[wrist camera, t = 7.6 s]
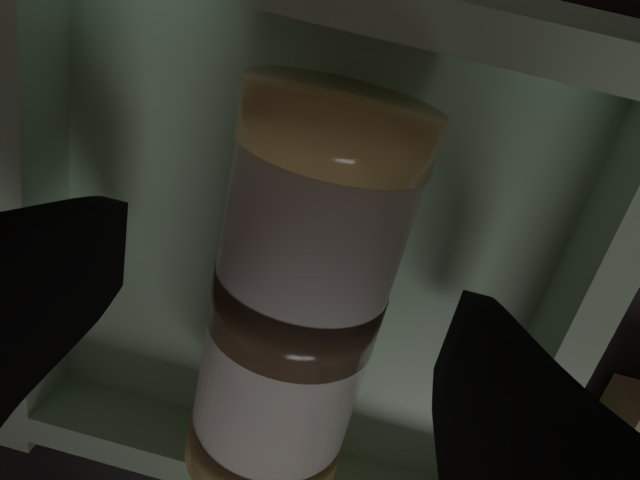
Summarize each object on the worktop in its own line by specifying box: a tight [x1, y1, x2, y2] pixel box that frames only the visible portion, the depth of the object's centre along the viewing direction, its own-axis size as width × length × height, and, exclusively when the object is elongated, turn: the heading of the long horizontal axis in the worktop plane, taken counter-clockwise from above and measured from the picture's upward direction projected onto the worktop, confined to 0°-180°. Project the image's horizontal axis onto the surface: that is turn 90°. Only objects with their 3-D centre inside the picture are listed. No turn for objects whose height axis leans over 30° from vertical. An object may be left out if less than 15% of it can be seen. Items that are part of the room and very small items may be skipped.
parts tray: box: [0, 0, 640, 480], centre depth 12 cm, size 13×13×2 cm
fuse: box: [185, 65, 449, 480], centre depth 11 cm, size 8×4×4 cm, turn 168°
